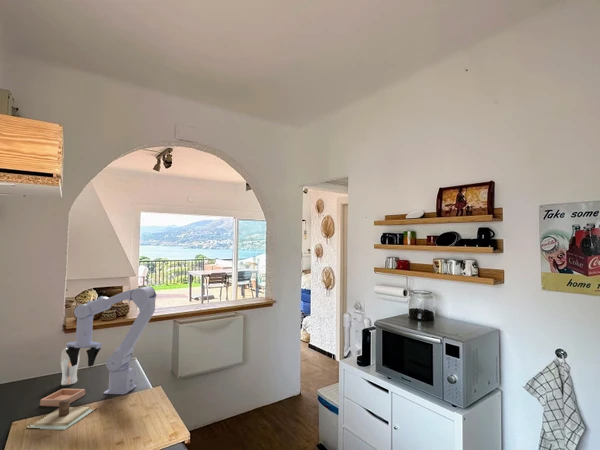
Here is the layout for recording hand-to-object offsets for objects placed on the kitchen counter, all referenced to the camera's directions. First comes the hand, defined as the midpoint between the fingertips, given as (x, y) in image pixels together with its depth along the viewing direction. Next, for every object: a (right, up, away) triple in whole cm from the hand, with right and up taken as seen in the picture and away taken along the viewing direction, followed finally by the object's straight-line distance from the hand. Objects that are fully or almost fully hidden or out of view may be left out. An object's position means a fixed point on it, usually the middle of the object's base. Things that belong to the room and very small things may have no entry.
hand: (82, 365), depth 133 cm
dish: (-2, -10, -9) cm, 13 cm away
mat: (+9, -8, -23) cm, 26 cm away
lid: (+9, -8, -23) cm, 26 cm away
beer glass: (-12, -12, +8) cm, 19 cm away
